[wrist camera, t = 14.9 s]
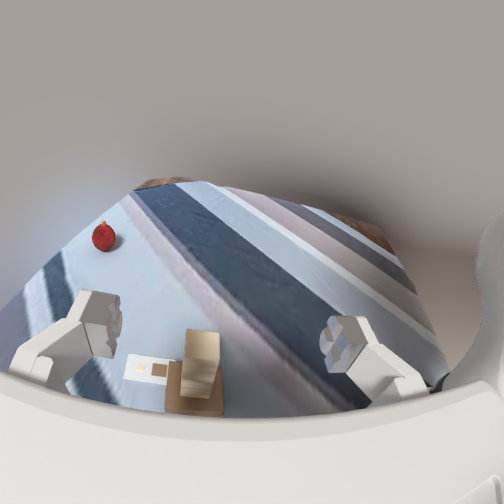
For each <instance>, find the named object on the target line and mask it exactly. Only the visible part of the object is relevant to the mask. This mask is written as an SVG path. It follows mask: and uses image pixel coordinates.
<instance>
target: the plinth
mask: <svg viewBox="0 0 504 504" xmlns="http://www.w3.org/2000/svg"><path fill="white" fill-rule="evenodd" d="M182 364H183V362H176V361H169V366H168V376H167V386H166V397H165V413H169V414H179V415H189V416H203V417H222V415H223V413H224V409H223V388H222V367H221V366H218V368H217V371H216V375H215V378H214V382H213V386H212V389H211V393H210V396H209V399H205V398H195V397H185V396H180V390H181V374H182Z"/></svg>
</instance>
